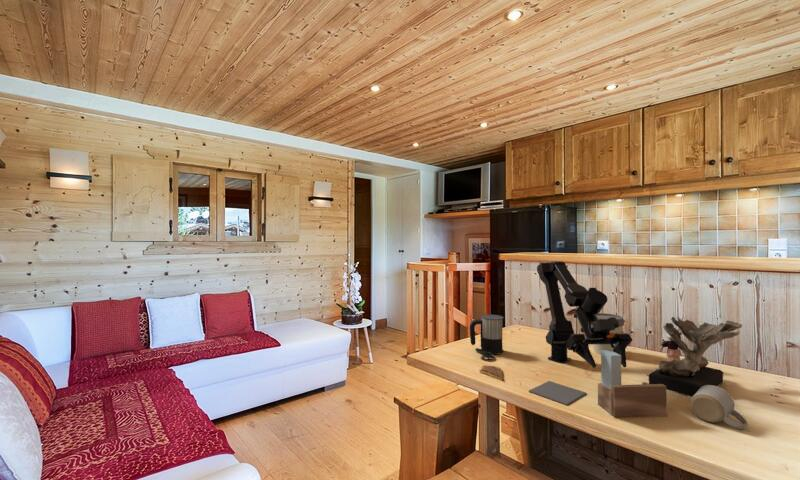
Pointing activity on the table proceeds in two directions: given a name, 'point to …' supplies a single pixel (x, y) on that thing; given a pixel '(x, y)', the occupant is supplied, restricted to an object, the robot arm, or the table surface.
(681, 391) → the driftwood sculpture
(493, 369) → the shard
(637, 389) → the brown wooden box
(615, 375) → the pale grey rectangular block
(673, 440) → the table surface
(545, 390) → the rubber mat
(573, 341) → the robot arm
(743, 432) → the table surface
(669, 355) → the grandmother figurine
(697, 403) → the ceramic mug
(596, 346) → the reusable coffee cup
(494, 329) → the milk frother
